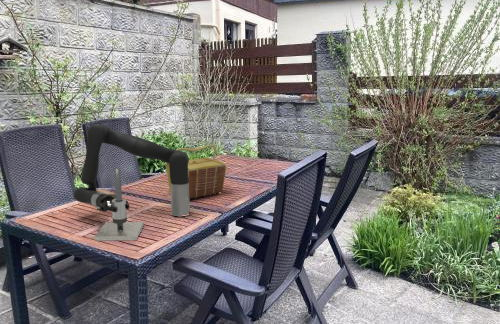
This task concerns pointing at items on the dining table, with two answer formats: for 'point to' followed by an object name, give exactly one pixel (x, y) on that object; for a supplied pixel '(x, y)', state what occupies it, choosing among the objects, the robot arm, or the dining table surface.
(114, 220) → the black hex nut
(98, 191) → the packaged product
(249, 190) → the dining table surface
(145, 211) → the dining table surface
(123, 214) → the metal sleeve
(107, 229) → the pipe stand
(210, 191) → the picnic basket
